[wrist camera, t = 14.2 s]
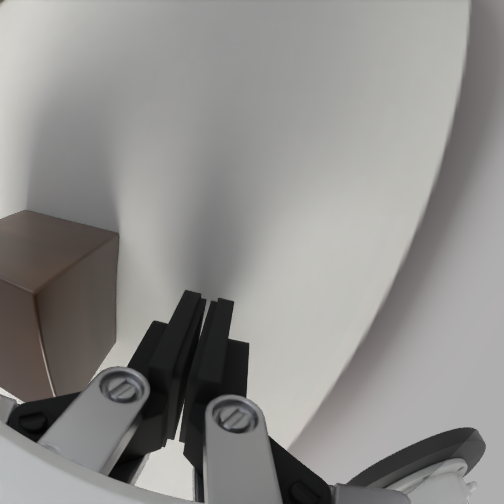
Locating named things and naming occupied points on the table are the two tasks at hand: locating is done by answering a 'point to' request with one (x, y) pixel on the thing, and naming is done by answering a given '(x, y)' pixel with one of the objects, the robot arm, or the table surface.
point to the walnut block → (54, 304)
